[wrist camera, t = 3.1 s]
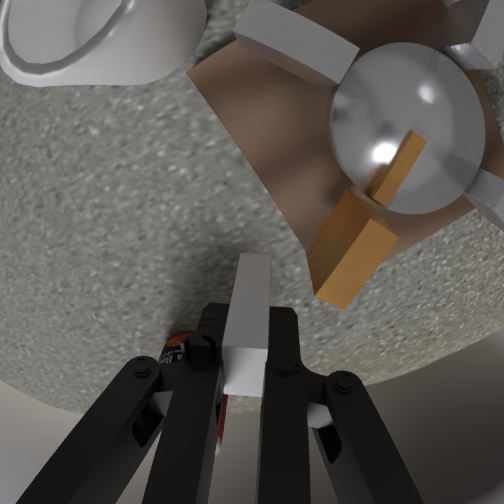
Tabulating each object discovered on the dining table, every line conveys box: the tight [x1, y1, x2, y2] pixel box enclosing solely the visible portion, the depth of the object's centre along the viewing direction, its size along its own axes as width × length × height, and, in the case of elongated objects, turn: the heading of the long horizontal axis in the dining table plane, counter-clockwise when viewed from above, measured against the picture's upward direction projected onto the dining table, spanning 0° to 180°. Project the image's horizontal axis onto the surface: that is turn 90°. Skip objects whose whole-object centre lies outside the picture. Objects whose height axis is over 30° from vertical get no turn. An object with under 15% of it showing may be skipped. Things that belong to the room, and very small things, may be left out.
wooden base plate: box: [186, 0, 504, 262], centre depth 18 cm, size 20×20×4 cm
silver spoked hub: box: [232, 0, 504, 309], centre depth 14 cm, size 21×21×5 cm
